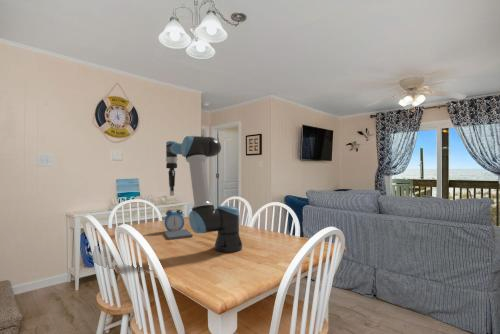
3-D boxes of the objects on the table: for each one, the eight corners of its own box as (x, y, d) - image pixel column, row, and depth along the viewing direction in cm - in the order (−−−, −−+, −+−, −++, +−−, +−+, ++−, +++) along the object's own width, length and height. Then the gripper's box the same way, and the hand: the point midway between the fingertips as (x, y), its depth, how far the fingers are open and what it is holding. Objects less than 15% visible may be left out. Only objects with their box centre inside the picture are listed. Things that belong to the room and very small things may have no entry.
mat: (192, 236, 176) (192, 234, 176) (168, 239, 170) (168, 236, 170) (186, 231, 191) (186, 228, 191) (164, 234, 184) (164, 231, 184)
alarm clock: (164, 233, 186) (164, 211, 186) (164, 231, 192) (164, 209, 192) (184, 231, 190) (184, 210, 190) (183, 229, 196) (183, 208, 196)
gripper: (178, 162, 194) (179, 196, 195) (175, 162, 206) (175, 194, 206) (167, 162, 191) (168, 196, 191) (164, 162, 203) (165, 194, 203)
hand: (171, 195), depth 199 cm, fingers closed
